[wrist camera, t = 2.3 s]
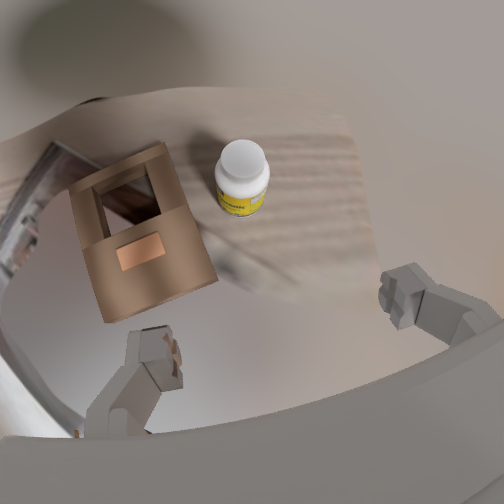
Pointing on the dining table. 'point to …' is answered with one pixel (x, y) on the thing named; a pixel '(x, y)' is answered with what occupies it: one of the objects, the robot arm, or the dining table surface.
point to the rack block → (140, 240)
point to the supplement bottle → (241, 178)
